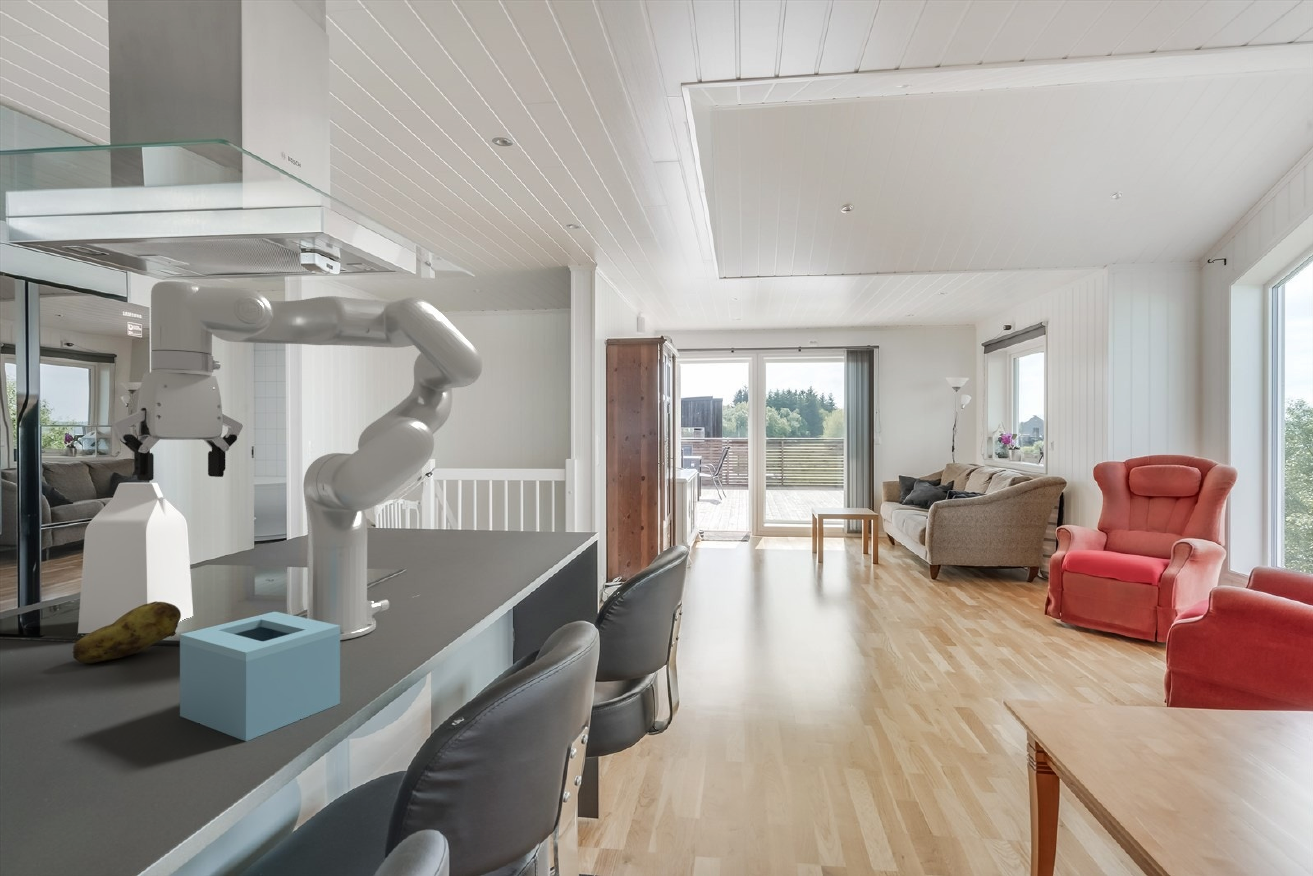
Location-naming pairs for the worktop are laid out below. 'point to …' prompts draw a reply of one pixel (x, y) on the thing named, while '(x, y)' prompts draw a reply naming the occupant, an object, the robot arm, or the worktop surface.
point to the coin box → (259, 673)
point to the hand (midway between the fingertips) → (182, 478)
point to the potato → (129, 633)
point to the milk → (134, 557)
